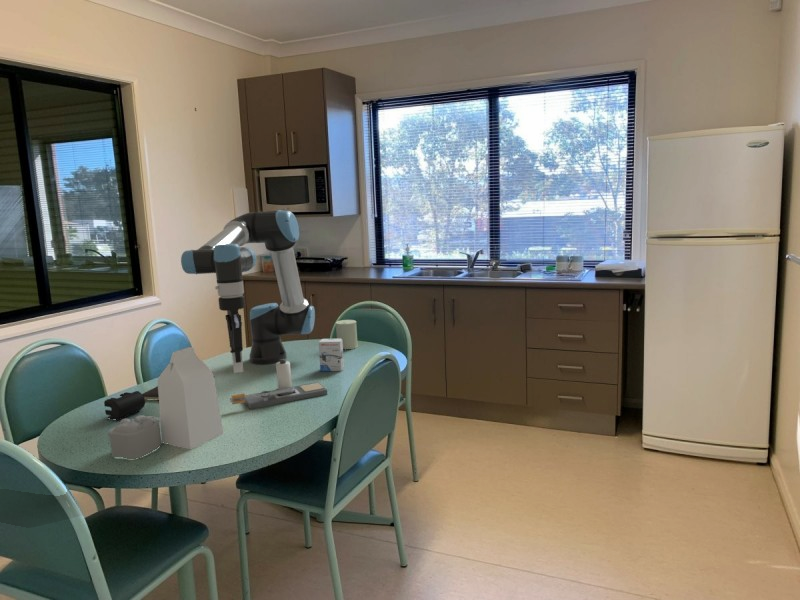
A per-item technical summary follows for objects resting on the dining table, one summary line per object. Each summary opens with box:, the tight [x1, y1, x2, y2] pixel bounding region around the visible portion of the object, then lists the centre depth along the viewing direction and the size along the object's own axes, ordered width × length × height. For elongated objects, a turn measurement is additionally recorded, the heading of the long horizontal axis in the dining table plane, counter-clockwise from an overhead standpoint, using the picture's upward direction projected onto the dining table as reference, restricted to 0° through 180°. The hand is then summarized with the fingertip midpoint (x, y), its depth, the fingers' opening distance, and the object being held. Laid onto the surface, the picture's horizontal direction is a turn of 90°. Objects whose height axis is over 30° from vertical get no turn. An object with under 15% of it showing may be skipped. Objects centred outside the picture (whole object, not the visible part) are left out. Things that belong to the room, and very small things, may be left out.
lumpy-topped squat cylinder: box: [108, 414, 162, 459], centre depth 162 cm, size 10×13×9 cm
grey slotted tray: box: [245, 381, 328, 410], centre depth 200 cm, size 10×26×3 cm, turn 115°
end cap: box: [103, 390, 146, 421], centre depth 190 cm, size 10×7×7 cm
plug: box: [275, 358, 296, 396], centre depth 199 cm, size 7×7×13 cm
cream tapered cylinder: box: [335, 319, 359, 351], centre depth 261 cm, size 9×9×12 cm
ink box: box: [318, 338, 345, 372], centre depth 228 cm, size 9×5×12 cm, turn 84°
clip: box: [229, 386, 293, 405], centre depth 193 cm, size 3×20×3 cm, turn 115°
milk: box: [157, 346, 224, 450], centre depth 167 cm, size 12×12×26 cm
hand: (238, 371), depth 182 cm, fingers closed
